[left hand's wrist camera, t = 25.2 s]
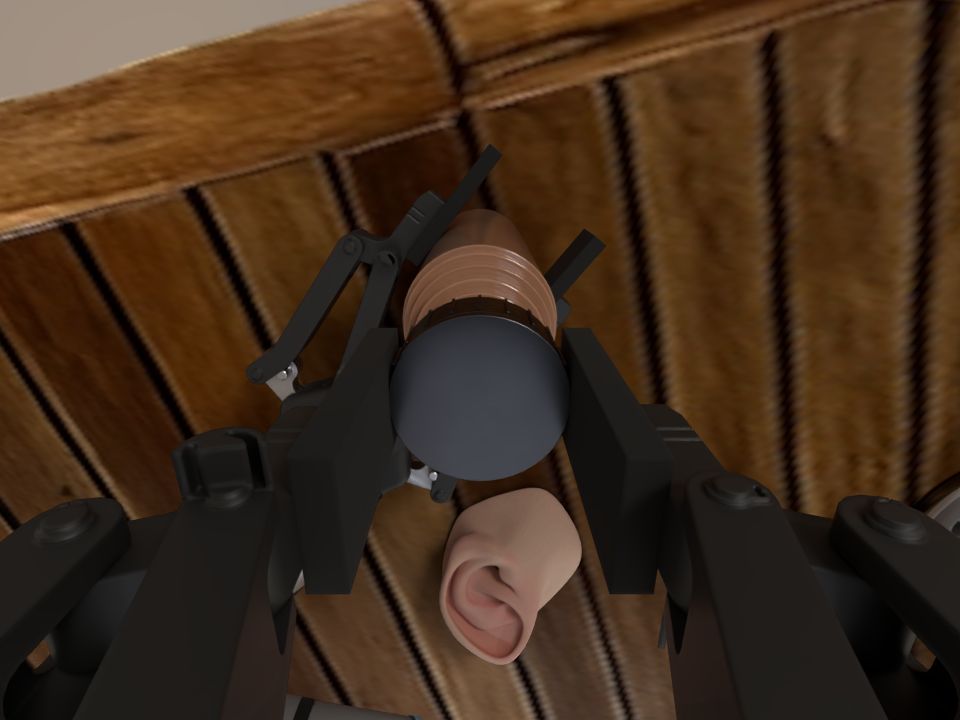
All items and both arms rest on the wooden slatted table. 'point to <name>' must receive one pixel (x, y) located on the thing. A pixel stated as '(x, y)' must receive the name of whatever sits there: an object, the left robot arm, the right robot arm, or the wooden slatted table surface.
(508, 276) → the bottle
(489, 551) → the anatomical model
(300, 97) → the wooden slatted table surface
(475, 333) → the cap
